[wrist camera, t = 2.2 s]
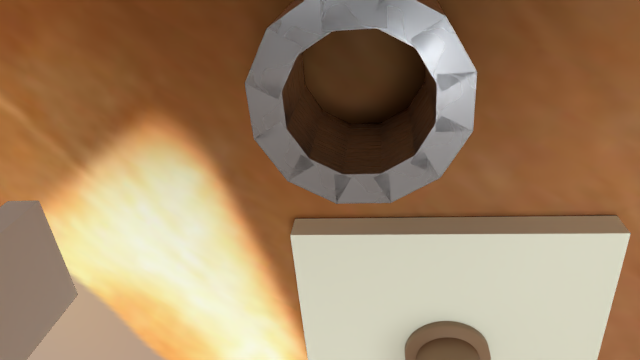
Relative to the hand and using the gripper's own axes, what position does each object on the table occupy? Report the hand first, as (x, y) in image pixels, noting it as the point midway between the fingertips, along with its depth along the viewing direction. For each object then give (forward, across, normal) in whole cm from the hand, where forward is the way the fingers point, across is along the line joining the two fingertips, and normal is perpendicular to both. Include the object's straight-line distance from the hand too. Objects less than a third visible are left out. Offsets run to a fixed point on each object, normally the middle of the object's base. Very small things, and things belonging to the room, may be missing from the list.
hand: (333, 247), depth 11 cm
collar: (+13, 0, 0) cm, 13 cm away
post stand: (+13, +4, -16) cm, 21 cm away
